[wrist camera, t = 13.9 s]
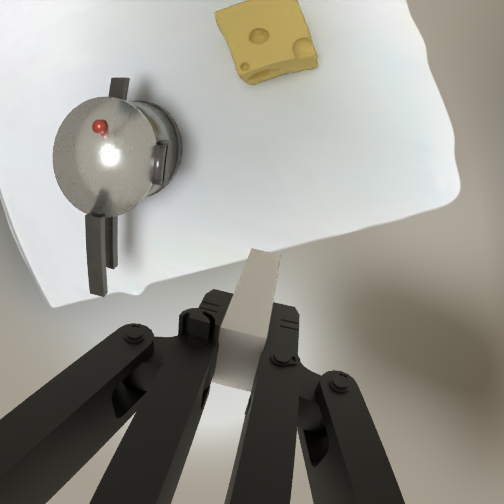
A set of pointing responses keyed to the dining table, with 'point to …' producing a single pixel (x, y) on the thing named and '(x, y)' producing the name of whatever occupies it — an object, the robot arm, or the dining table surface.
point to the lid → (105, 169)
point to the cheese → (267, 38)
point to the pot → (164, 135)
